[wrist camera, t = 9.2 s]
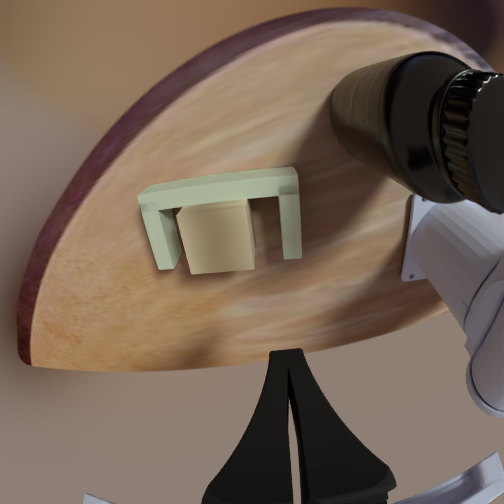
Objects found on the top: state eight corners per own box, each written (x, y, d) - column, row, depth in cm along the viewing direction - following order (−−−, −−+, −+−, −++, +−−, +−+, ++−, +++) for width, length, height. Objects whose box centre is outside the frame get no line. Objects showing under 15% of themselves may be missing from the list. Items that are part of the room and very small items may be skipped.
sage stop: (293, 166, 17) (298, 174, 15) (297, 241, 20) (302, 258, 18) (150, 184, 18) (137, 195, 16) (168, 253, 21) (158, 269, 19)
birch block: (248, 187, 18) (245, 207, 15) (255, 239, 20) (254, 269, 17) (192, 194, 19) (176, 215, 15) (203, 244, 21) (191, 274, 17)
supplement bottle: (368, 182, 18) (473, 280, 7) (306, 105, 15) (388, 103, 5) (432, 128, 15) (561, 177, 5) (378, 50, 13) (506, 16, 2)
